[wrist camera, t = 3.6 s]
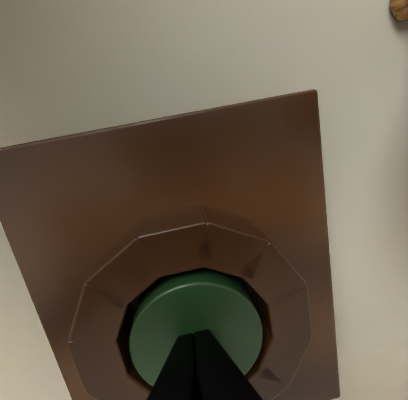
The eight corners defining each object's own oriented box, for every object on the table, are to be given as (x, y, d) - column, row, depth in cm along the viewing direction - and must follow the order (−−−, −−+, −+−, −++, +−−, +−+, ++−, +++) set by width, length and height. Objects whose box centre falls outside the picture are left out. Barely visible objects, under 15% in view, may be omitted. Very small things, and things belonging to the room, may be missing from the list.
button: (253, 335, 9) (271, 380, 7) (152, 359, 9) (147, 413, 7) (237, 242, 8) (254, 269, 6) (125, 267, 8) (111, 301, 6)
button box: (318, 362, 12) (375, 450, 8) (108, 416, 11) (78, 535, 8) (292, 98, 9) (362, 70, 6) (11, 151, 8) (-101, 155, 5)
